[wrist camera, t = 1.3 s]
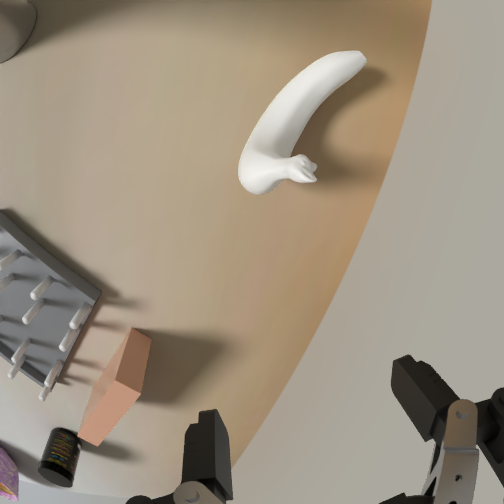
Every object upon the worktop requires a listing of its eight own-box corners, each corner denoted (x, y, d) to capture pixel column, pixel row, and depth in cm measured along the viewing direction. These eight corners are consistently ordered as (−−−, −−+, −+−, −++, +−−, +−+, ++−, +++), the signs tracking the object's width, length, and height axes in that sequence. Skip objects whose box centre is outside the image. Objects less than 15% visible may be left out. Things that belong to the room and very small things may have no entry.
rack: (-28, 315, 29) (-47, 334, 23) (-2, 209, 26) (-29, 220, 20) (56, 382, 35) (43, 408, 29) (101, 291, 32) (85, 316, 26)
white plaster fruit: (348, 70, 28) (429, 34, 15) (257, 196, 32) (300, 228, 18) (316, 44, 27) (383, -10, 13) (219, 171, 30) (233, 182, 16)
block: (110, 396, 37) (97, 446, 27) (93, 387, 36) (77, 436, 27) (151, 339, 35) (141, 393, 25) (131, 327, 34) (114, 379, 24)
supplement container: (46, 422, 37) (31, 463, 27) (77, 430, 38) (64, 473, 29) (58, 443, 39) (46, 481, 29) (86, 449, 40) (77, 490, 31)
